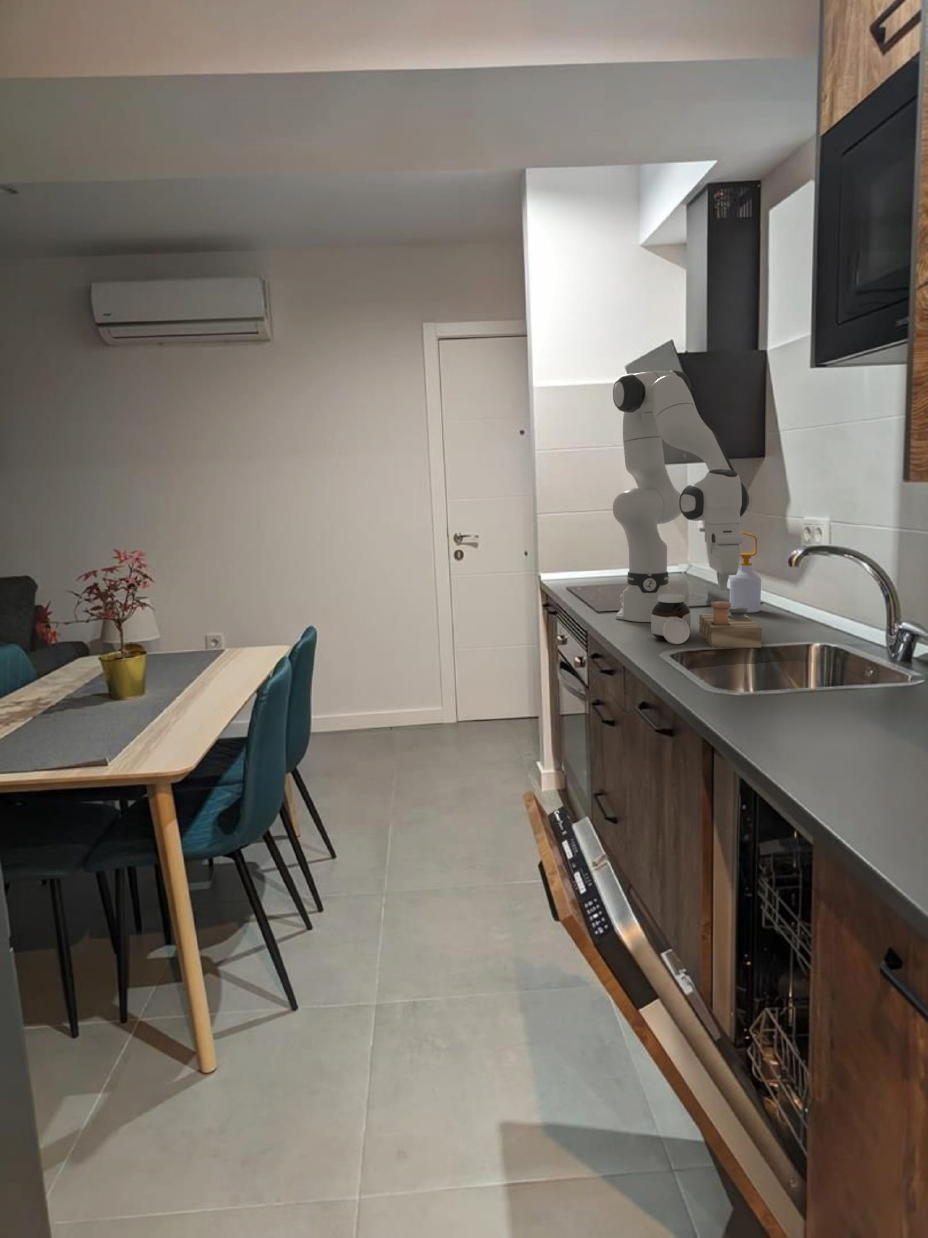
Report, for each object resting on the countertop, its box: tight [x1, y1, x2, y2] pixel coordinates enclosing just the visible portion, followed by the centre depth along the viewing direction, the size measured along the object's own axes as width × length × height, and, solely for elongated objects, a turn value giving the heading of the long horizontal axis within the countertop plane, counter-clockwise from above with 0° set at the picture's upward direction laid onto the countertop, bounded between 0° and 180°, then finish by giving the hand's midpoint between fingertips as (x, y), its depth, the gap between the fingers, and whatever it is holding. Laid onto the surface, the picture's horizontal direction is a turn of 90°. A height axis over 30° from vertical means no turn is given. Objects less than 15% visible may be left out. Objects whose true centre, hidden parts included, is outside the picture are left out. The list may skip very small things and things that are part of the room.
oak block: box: [698, 613, 763, 649], centre depth 221 cm, size 20×12×5 cm, turn 173°
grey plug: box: [728, 606, 747, 619], centre depth 225 cm, size 5×5×7 cm
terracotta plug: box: [710, 600, 731, 626], centre depth 216 cm, size 5×5×7 cm
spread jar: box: [650, 593, 691, 645], centre depth 221 cm, size 12×11×12 cm
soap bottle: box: [729, 531, 762, 614], centre depth 261 cm, size 9×9×25 cm
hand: (722, 589), depth 214 cm, fingers closed
